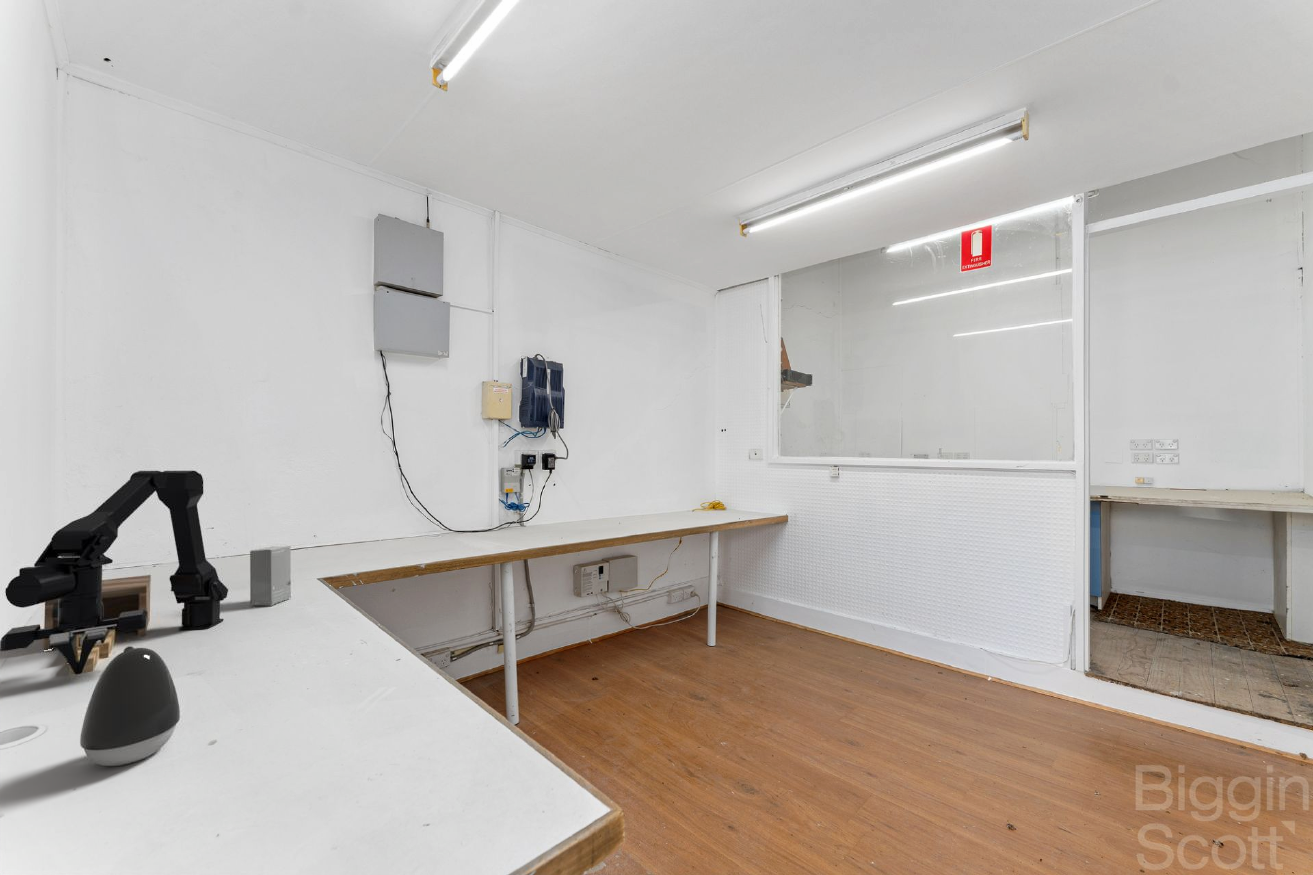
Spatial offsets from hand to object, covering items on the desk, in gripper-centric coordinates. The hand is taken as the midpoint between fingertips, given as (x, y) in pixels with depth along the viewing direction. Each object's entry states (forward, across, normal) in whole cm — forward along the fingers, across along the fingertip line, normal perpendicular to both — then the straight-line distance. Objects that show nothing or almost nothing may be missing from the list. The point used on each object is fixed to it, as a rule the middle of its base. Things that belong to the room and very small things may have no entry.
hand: (78, 673), depth 103 cm
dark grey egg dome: (+1, -10, +43) cm, 44 cm away
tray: (+1, 0, -13) cm, 13 cm away
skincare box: (+1, -33, -39) cm, 52 cm away
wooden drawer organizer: (+1, 0, -33) cm, 33 cm away
